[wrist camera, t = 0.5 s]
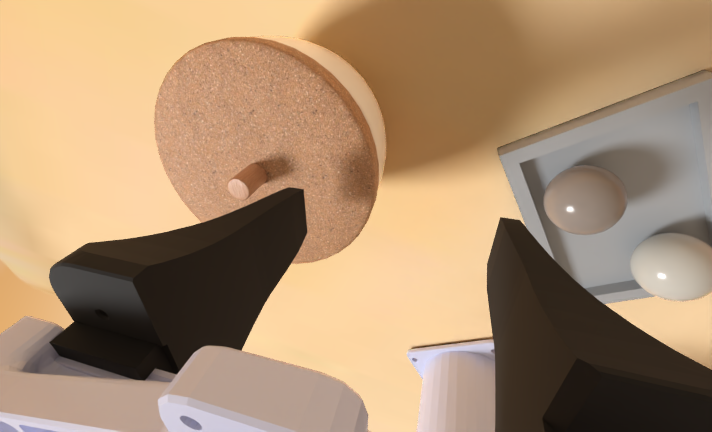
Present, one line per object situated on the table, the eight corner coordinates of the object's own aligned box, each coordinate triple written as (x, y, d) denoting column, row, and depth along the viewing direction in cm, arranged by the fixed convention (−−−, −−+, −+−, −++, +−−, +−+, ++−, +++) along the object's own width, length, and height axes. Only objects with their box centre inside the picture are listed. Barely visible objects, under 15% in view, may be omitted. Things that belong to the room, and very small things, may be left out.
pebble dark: (619, 200, 19) (647, 238, 16) (548, 219, 20) (561, 256, 18) (605, 143, 18) (632, 173, 15) (530, 168, 19) (540, 200, 16)
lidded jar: (265, 193, 26) (181, 275, 18) (220, 33, 20) (73, 57, 13) (406, 198, 23) (375, 299, 15) (399, 12, 17) (346, 27, 10)
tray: (728, 269, 20) (742, 283, 19) (555, 297, 24) (559, 310, 23) (704, 69, 15) (720, 75, 14) (497, 148, 19) (498, 156, 19)
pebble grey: (703, 262, 19) (744, 310, 16) (626, 276, 21) (651, 321, 18) (694, 211, 18) (737, 253, 15) (614, 230, 20) (639, 271, 17)
